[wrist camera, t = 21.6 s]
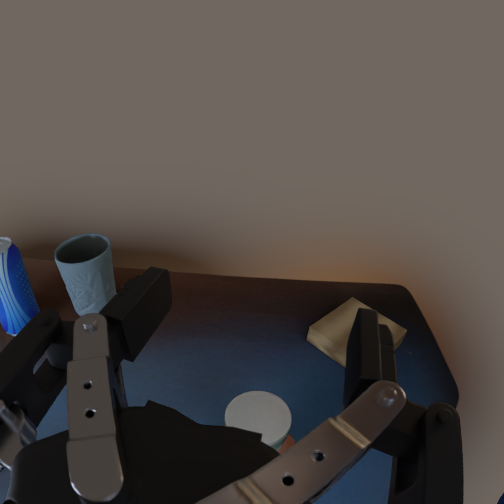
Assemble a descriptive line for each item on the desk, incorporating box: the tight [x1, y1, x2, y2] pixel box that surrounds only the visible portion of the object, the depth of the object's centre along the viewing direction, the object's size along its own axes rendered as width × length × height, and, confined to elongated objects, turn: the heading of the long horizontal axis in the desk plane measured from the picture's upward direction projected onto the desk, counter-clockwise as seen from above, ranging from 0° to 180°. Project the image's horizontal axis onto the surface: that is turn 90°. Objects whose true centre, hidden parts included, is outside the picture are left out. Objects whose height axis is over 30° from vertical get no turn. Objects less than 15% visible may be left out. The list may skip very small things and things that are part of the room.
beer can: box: [0, 237, 40, 336], centre depth 41 cm, size 8×8×16 cm
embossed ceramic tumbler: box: [54, 233, 117, 316], centre depth 49 cm, size 10×10×12 cm
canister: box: [224, 391, 291, 454], centre depth 28 cm, size 6×6×10 cm
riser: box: [307, 297, 407, 367], centre depth 48 cm, size 12×12×3 cm
